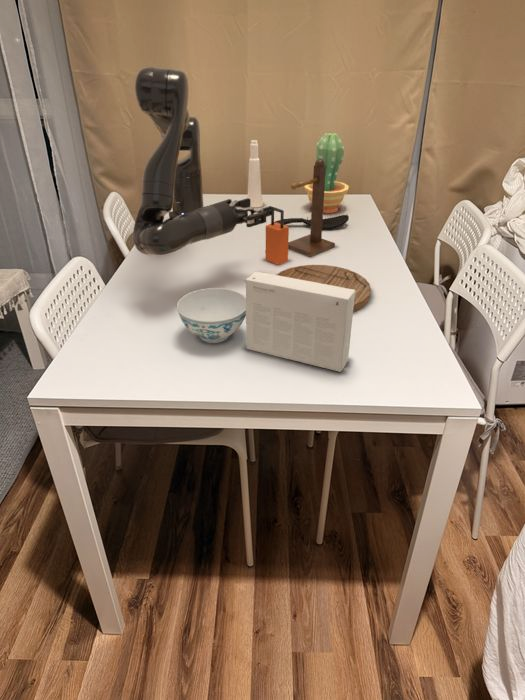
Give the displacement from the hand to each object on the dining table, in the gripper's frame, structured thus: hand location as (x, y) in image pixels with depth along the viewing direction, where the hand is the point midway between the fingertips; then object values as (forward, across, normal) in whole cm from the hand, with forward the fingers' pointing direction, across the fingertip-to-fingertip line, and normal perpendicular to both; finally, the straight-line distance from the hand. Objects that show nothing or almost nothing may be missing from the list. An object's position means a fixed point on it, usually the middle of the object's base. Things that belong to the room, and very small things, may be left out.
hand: (260, 206), depth 139 cm
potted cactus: (+50, +20, +18) cm, 56 cm away
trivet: (0, -22, +17) cm, 27 cm away
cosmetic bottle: (+35, +40, +18) cm, 56 cm away
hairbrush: (+33, +12, +17) cm, 39 cm away
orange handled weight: (+6, 0, +17) cm, 18 cm away
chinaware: (-32, -20, +17) cm, 41 cm away
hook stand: (+18, 0, +17) cm, 25 cm away
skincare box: (-25, -37, +17) cm, 48 cm away
